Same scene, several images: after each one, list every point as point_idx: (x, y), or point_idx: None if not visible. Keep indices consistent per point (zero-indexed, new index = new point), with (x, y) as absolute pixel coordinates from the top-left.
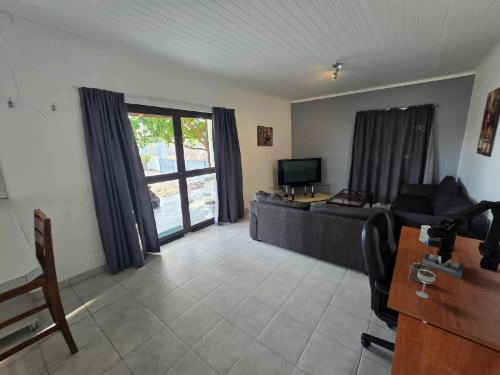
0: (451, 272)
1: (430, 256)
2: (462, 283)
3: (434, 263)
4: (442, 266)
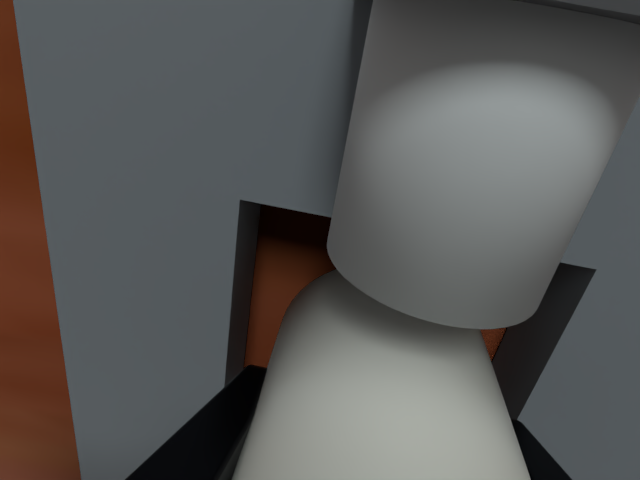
0: (79, 431)
1: (392, 85)
2: (4, 455)
3: (234, 190)
4: (200, 340)
